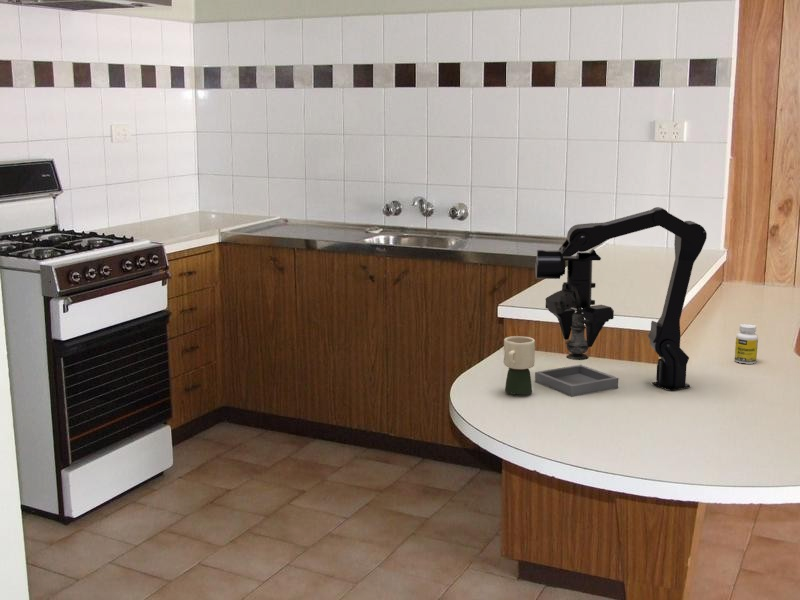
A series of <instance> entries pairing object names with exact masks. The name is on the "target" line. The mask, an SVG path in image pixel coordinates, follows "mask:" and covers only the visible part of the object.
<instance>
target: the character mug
mask: <svg viewBox="0 0 800 600" xmlns="http://www.w3.org/2000/svg"><path fill="white" fill-rule="evenodd" d="M503 351H504V354H503V355H504V357H503V365H504V366H505V367H506V368H508V370H507V373H506V374H507V375H506V379H505V388H504V392H505V393H507V394H514V395H515V396H517V395H530V394H532V393H533V389H532V387H533V386H532V379H531V378H532V376H531V371H530V369H532V368H534V367H535V364H536V363H535V361H536V360H535V357H536V356H535V355H536V340H535V339H534V338H532V337H529V336H522V335H521V336H518V335H516V336H515V335H514V336H506V337H505V338H504V339H503Z"/></svg>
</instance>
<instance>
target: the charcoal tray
mask: <svg viewBox="0 0 800 600" xmlns="http://www.w3.org/2000/svg"><path fill="white" fill-rule="evenodd" d="M534 373H535V374H534V383H536V384H539V385H542V386H544V387H546V388H548V389H551V390H554V391H556V392H559V393H561V394H563V395H566V396H569V397H571V398H572V397H577V396H583V395H588V394H593V393H599V392H603V391H610V390H611V391H612V390H616V389H618V388H619V379H620V378H619V377H617V376H614V375H611V374H608V373H606V372H603V371H600V370H597V369H595V368H592V367H588V366H587V365H586V366H585V365H583V364H577V365H571V366H565V367H557V368H552V369H546V370H540V371H535V372H534Z"/></svg>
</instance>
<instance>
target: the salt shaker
mask: <svg viewBox="0 0 800 600" xmlns="http://www.w3.org/2000/svg"><path fill="white" fill-rule="evenodd" d="M584 319H585V318H584V316H583V313H581V312H578V311H575V313H574V314H573V315H572V326H571V328H572V329H571V335H570V338H569V339H568V340H565V343H564V344H565V345H566V349H567V351H568V352H569V353H568V354H567V355H566V356H565V357H566V359H568V360H572V361H585V360H588V359H589V358H590V357H589V356H588V355H587V354H585V353H586V352H588V350H589V348H590V347H588V346H587V339H586V337H585V330H586V325H585V324H584V322H583V321H582V320H584Z"/></svg>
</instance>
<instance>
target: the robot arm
mask: <svg viewBox="0 0 800 600" xmlns="http://www.w3.org/2000/svg"><path fill="white" fill-rule="evenodd" d="M655 227H660V228H663V229H664V230H666V231H669V232H670V233H672V234H673V235H674V243H673V244H674V262H673V267H672V270H671V274H670V275H671V276H670V277H669V278H670V280H669V283H668V288H667V291H666V295H665V301H664V304H663V307H662V312H661V315H660V317H659V319H658V320H657V321H656V320H655V321H654V320H651V323H650V331H649V332H648V334H647V338H649V344H650V346H651V347H652V349H653V350H654V351H655V353H656V354H657V355H658V357H659V358H657V364H656V374H655V375H656V377H655V381H652V382H651V385H652V386H656V387H659V388H661V389H664V390H667V391H676V390H682V389H686V388H687V389H688V388H691V385H690V384H689V383H686V380H687V367H688V366H687V364H688V362H689V359H690V357H689V355H687V353H685V351H684V350H683V349H682V348H681V335H682V334H681V317H682V312H683V308H684V305H685V300H686V296H687V292H688V288H689V283H690V279H691V275H692V271H693V267H694V264H695V262H696V260H697V259H698V257H699V256H700V254H701V252H702V250H703V248H704V245H705V244H706V242H707V237H708V236H707V231H706V230H705V229H706V228H704V226H702V225H701V224H699V223H697V222H695V221H692V220H685V221H684V220H682V219H680V218H679V217H678V216H676V215H673V214H672V213H669V212H668V211H667V210H666V209H665V208H663V207H659V206H658V207H653V208H652V209H650V210H645V211H643V212H638V213H635V214H631V215H627V216H624V217H620V218H616V219H613V220H612V219H611V220H609V221H605V222H589V223H579V224H575V225H573V226H571V227H570V228H569V230H568V231H567V234H566V235H567V236H566V239H565V241H564V242H563V243H561V244H562V245H560V247H559V248H558V250H545V249H537V251H536V257H535V258H536V259H535V260H536V262H535V264H534V265H535V267H534V268H535V269H534V270H535V273H534V274H535V279H538V280H548V279H549V280H551V279H553V280H557V279H561V277H563V276H564V275H565V274H567V275H566V281H565V282H562V287H561V290H558V291H556V292H554V293H552V294H551V295H548V296H547V297H546V298H545V309H548V312H550V313H551V314H553V316H555V317H556V318H557V321H558V323H559V327H560V329H561V333H562V336H563V339H564V340H565V341H569V340H570V338H571V334H572V328H571V326H572V315H573V314H574V313H575V312H577V311H578V312H581V313H583V316H584V320H582V321H583V322H584V326H585V327H586V328H585V330H586V341H587V346H588V347H589V348H592V347H593V346H594V343H595V341H596V340H597V338H598V336H599V334H600V332H601V330H602V329H603V327H604V325H605V324H606V323H608V322H609V321H610V320H614V319H615V318H614V317H615V315H614V314H615V313H614V309H613V308H612V307H611V306H607V305H604V304H596V300H595V299H592V290H593V288H594V289H595V288H596V283H595V282H593V261H601V260H602V257H600V255H599V254H597V252H596V250H595V249H594V248H595V247H598V246H600V245H601V244H603V243H605V242H607V241H609V240H611V239H615V238H617V237H622V236H625V235H629V234H633V233H636V232H640V231H644V230H647V229H651V228H655ZM589 250H590V251H589ZM575 254H576V255H575ZM566 261H567V267H566ZM566 268H567V271H566Z"/></svg>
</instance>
